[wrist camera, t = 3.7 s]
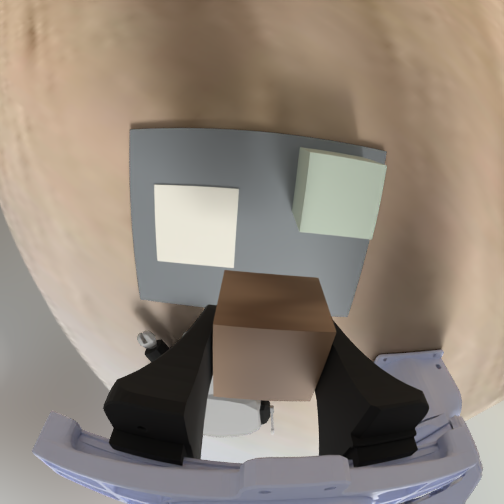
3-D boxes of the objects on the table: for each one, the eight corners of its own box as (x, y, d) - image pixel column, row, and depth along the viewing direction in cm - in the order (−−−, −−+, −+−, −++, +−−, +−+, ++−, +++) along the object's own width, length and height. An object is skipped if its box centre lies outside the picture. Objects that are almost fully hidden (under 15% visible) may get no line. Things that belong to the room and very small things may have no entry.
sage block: (363, 157, 18) (386, 165, 14) (352, 218, 19) (371, 239, 16) (299, 146, 17) (310, 152, 14) (291, 211, 19) (299, 232, 16)
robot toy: (140, 312, 25) (175, 409, 31) (122, 340, 21) (168, 437, 26) (268, 310, 25) (273, 411, 30) (270, 342, 20) (274, 441, 26)
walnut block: (318, 277, 13) (336, 332, 10) (301, 345, 15) (310, 401, 12) (224, 269, 13) (212, 324, 10) (222, 339, 15) (213, 396, 12)
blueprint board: (384, 151, 18) (387, 151, 17) (346, 314, 23) (347, 317, 23) (132, 129, 17) (129, 129, 17) (141, 296, 23) (140, 299, 23)
